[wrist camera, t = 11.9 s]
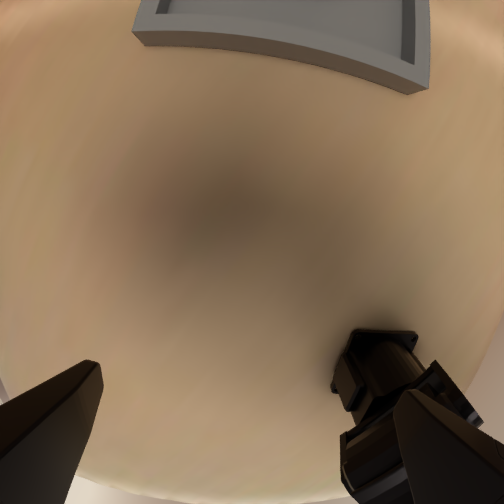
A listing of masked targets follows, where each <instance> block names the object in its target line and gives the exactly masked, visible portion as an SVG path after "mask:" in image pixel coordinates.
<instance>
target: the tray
mask: <svg viewBox="0 0 504 504" xmlns="http://www.w3.org/2000/svg"><path fill="white" fill-rule="evenodd" d="M131 32H132V33H133V34H134V35H135V36H136V37H137V38H138V39H139V40H140V41H141V42H142V43H143V44H144V45H145V46H185V47H202V48H215V49H225V50H234V51H242V52H250V53H256V54H263V55H269V56H274V57H280V58H285V59H290V60H295V61H300V62H304V63H308V64H313V65H317V66H321V67H325V68H328V69H332V70H336V71H339V72H343V73H346V74H350V75H353V76H356V77H359V78H362V79H365V80H368V81H371V82H374V83H377V84H380V85H383V86H386V87H388V88H391V89H394V90H396V91H399V92H401V93H404V94H406V95H409V94H412V93H416V92H419V91H423V90H426V89H429V77H430V7H429V0H141V3H140V6H139V9H138V12H137V15H136V18H135V21H134V24H133V28H132V31H131Z"/></svg>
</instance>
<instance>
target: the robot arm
mask: <svg viewBox="0 0 504 504" xmlns="http://www.w3.org/2000/svg"><path fill="white" fill-rule="evenodd" d="M357 335H359V336H358V337H356V336H357ZM417 340H418V335H417V334H416V333H415V332H402V331H379V330H361V329H357V330H354V331H353V332H352V333H351V336H350V338H349V341H348V344H347V347H346V349H345V352H344V353H343V354H342V355H341V358H340V361H339V363H338V366H337V368H336V371H335V373H334V376H333V382H332V385H331V387H330V388H331V391H332V393H334V394H339V396H340V398H341V401H342V404H343V406H344V409H345V410H346V412H351V414H352V417H353V419H354V422H355V425H356V426H355V427H354V428H352V429H351V430H349V431H348V432H347V431H346V432H344V433H343V434H341V435H340V472H341V481H342V483H343V484H344V486H345V488H346V489H347V491H348V493H349V494H350V495H351V496H352V497H353V498H354V499H355V500H356V501H357V502H358V503H359V504H504V444H502V443H500V442H499V441H497V440H495V439H493V438H492V437H490V436H489V435H487V434H486V433H484V432H483V431H481V430H479V429H478V428H479V427H480V426H481V425H482V424H483V423H484V422H483V420H482V419H481V418H480V416H479V415H478V413H477V412H476V411H475V409H474V408H473V407H472V405H471V404H470V403H469V401H468V400H467V399H466V397H465V396H464V395H463V393H462V392H461V391H460V390H459V388H458V387H457V386H456V384H455V383H454V382H453V381H452V379H451V378H450V377H449V376H448V374H447V373H446V372H445V371H444V369H443V368H442V367H441V366H440V365H439V363H438V362H437V361H436V360H434V361H433V362H432V363H431V364H430V367H429V368H427V369H425V368H424V367H423V365H422V364H421V363H420V361H419V360H418V359H417V357H416V356H415V355H414V353H413V352H412V351H413V349H414V347H415V345H416V342H417ZM103 387H104V384H103V378H102V372H101V367H100V364H99V363H98V362H95V361H91V360H83V361H82V362H80V363H78V364H76V365H74V366H73V367H71V368H69V369H67V370H65V371H63V372H62V373H60V374H58V375H56V376H54V377H52V378H51V379H49V380H47V381H45V382H43V383H41V384H39V385H38V386H36V387H34V388H32V389H30V390H28V391H26V392H25V393H23V394H21V395H19V396H17V397H15V398H13V399H12V400H10V401H8V402H6V403H4V404H2V405H0V504H64V503H65V500H66V497H67V494H68V491H69V488H70V486H71V483H72V480H73V478H74V475H75V472H76V470H77V467H78V464H79V462H80V459H81V457H82V454H83V452H84V449H85V447H86V444H87V442H88V439H89V437H90V434H91V431H92V427H93V424H94V420H95V416H96V413H97V409H98V406H99V403H100V399H101V396H102V393H103ZM335 388H336V389H335Z"/></svg>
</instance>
